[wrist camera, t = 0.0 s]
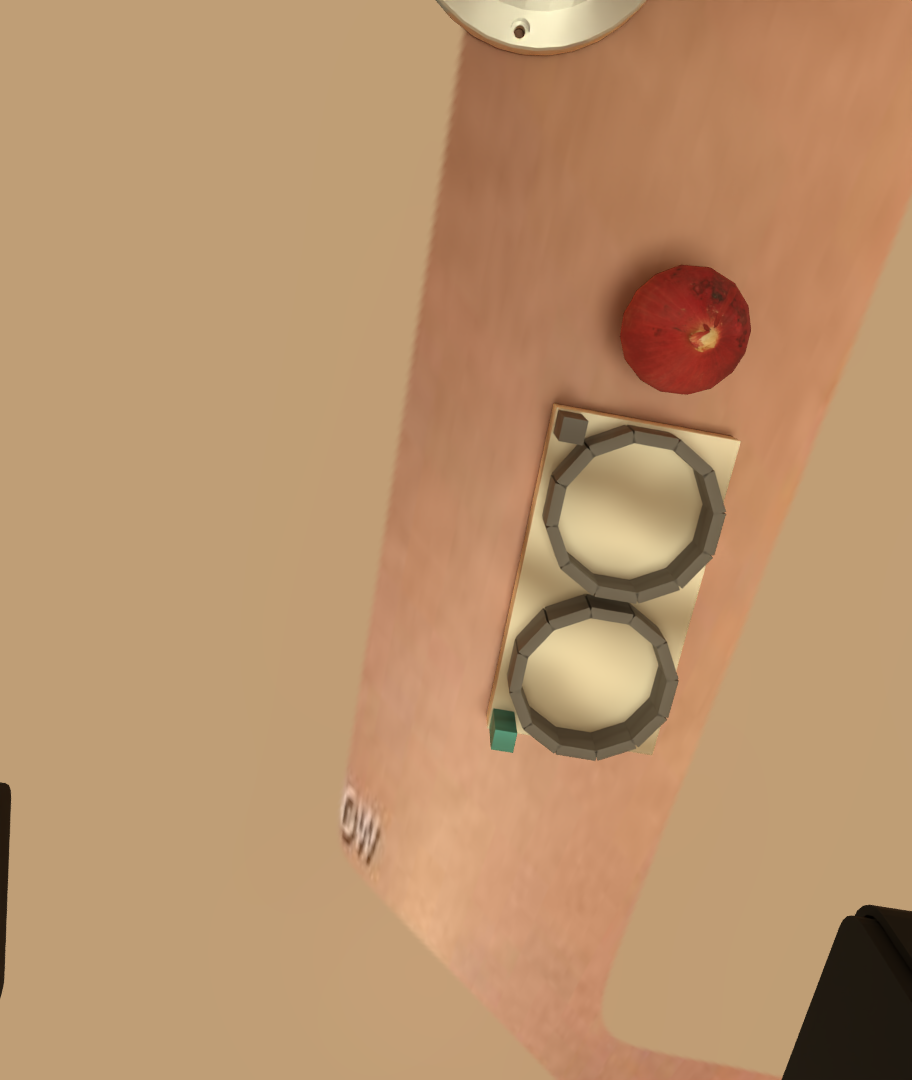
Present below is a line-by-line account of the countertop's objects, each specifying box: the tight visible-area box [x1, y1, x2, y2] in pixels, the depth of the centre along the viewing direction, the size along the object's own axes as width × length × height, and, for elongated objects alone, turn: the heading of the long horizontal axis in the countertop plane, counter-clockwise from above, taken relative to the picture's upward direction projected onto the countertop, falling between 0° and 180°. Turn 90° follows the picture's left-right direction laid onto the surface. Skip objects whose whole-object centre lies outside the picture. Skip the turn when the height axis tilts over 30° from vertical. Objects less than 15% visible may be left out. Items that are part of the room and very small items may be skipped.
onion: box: [620, 265, 751, 395], centre depth 39 cm, size 6×6×8 cm
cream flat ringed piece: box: [486, 403, 741, 761], centre depth 45 cm, size 18×10×4 cm, turn 170°
